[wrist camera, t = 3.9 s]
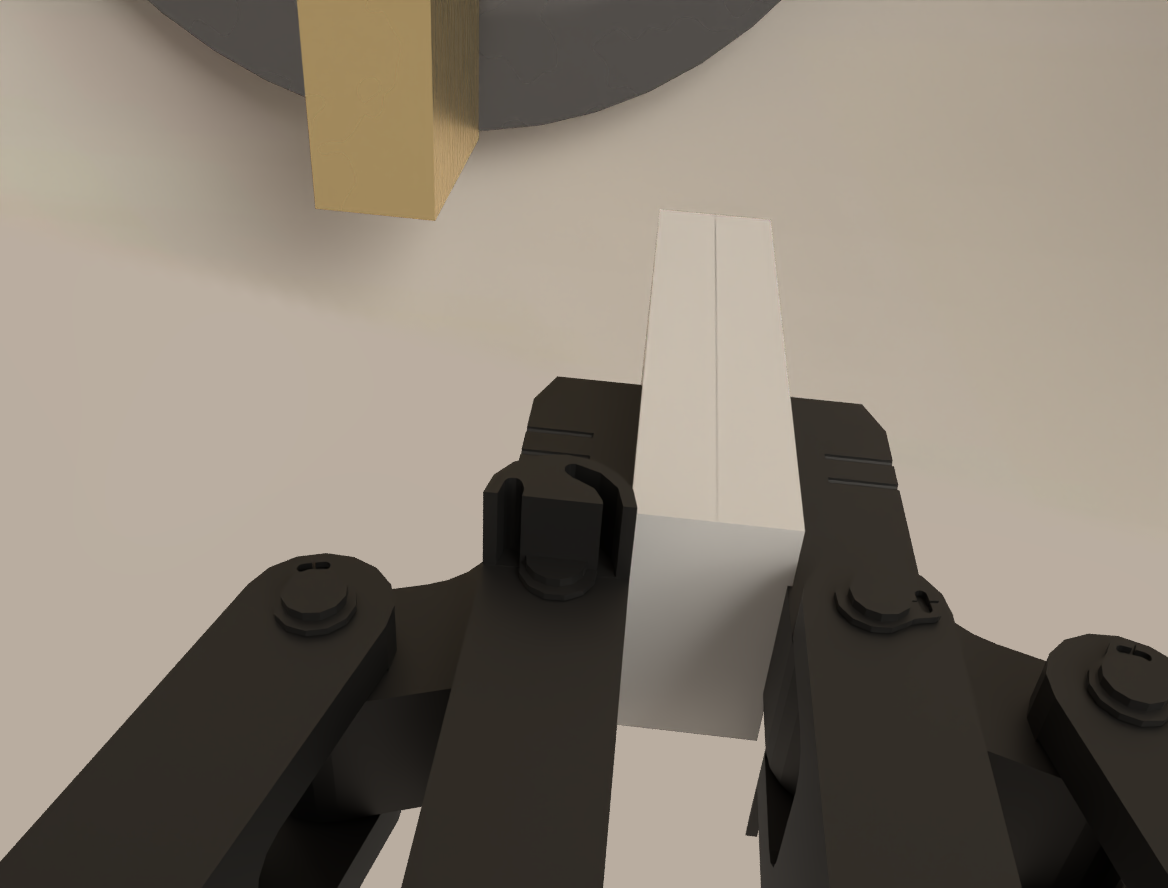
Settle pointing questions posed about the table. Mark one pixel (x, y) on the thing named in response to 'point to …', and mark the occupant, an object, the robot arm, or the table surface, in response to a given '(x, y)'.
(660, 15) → the cap plate
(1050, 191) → the table surface
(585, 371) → the table surface
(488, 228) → the table surface
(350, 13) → the brass disc with pegs
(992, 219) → the table surface
